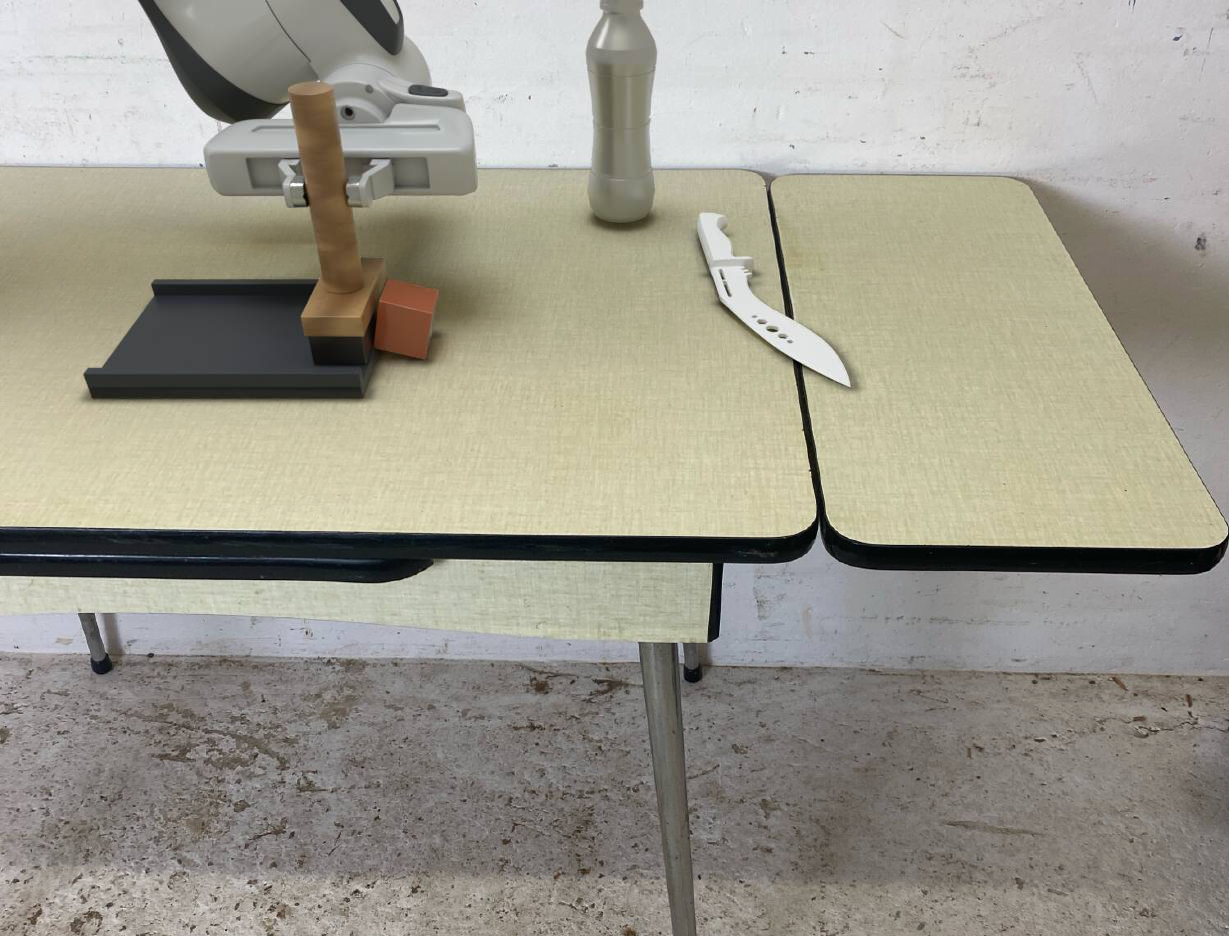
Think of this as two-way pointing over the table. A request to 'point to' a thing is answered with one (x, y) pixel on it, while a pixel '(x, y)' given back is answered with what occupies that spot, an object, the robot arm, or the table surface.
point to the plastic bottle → (621, 112)
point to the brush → (334, 238)
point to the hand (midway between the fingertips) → (325, 197)
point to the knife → (753, 311)
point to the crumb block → (405, 318)
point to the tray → (224, 345)
